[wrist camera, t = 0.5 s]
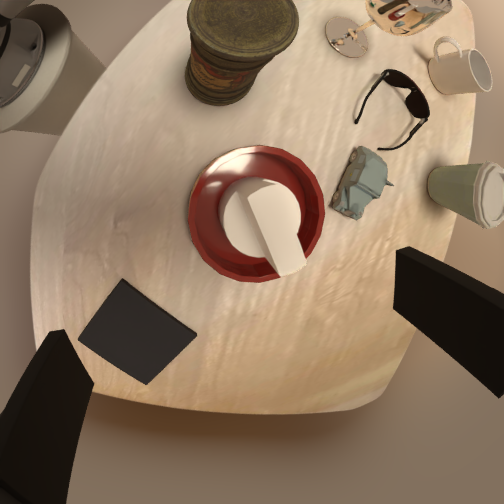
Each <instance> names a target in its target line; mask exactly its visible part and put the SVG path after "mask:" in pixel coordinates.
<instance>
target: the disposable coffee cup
mask: <svg viewBox="0 0 504 504" xmlns="http://www.w3.org/2000/svg"><path fill="white" fill-rule="evenodd" d="M427 189H428V192H429V195H430V197H431V198H432V199H433V200H434V201H435V202H436V203H438V204H440V205H442V206H444V207H446V208H448V209H450V210H452V211H454V212H456V213H458V214H460V215H462V216H464V217H466V218H467V219H469V220H471V221H473V222H475V223H477V224H478V225H480V226H481V227H482V228H486V229H489V228H495V227H496V226H498V225H499V224H500V223H501V222H502V221H503V220H504V168H502V167H500V166H499V164H495V163H493V162H489V161H486V162H485V163H482V164H468V165H456V166H445V167H438V168H436V169H434V170H433V171H432V172H431V173H430V175H429V178H428V184H427Z"/></svg>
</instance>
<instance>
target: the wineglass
mask: <svg viewBox="0 0 504 504" xmlns="http://www.w3.org/2000/svg"><path fill="white" fill-rule="evenodd" d="M365 4H366V10H367V13H368V15H369V17H370V18H371V19H370V20H369V21H368V22H366V23H365V24H363V25H361V26H359V25H358V24H357V23H355V22H354V21H352V20H350V19H348V18H344V17H335V18H332V19H331V20H329V21H328V23H327V25H326V36H327V38H328V41H329V42H330V44H331V45H332V46H333V47H334V48H335V49H336V50H337V51H338V52H340V53H341V54H343V55H345V56H348V57H354V58H355V57H360V56H362V55H364V54H365V52H366V51H367V49H368V40H367V36H366V34H365V32H364V31H363V30H364V29H366V28H367V27H369V26H371V25H373V24H376V25H377V26H378V27H379V28H380V29H382V30H383V31H385V32H387V33H390V34H393V35H396V36H410V35H414V34H417V33H419V32H421V31H423V30H425V29H426V28H428V27H429V26H431V25H432V24H433V23H435V22H436V21H438V20H439V19H441V18H442V17H443V16H444V15H446V14H447V13H448V12H450V11H451V10H452V1H451V0H365Z"/></svg>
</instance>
